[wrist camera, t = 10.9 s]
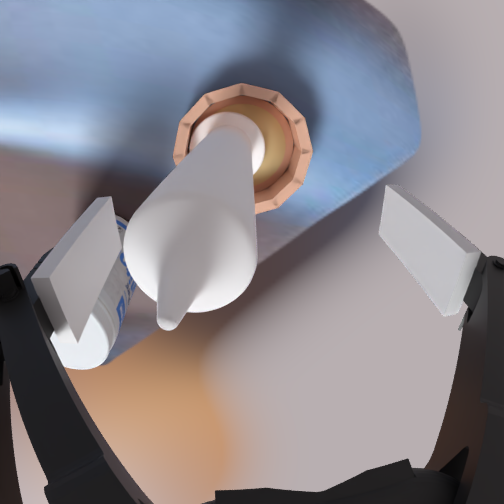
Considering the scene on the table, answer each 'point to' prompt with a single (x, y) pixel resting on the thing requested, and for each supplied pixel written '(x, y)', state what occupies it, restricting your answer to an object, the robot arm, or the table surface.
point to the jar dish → (274, 133)
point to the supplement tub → (101, 316)
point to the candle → (200, 223)
